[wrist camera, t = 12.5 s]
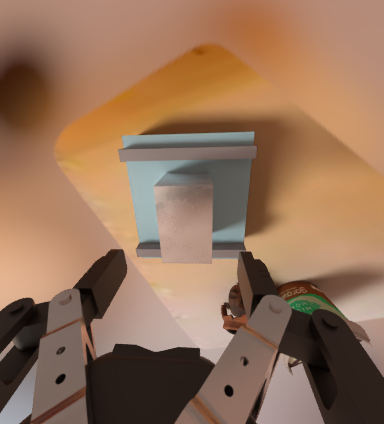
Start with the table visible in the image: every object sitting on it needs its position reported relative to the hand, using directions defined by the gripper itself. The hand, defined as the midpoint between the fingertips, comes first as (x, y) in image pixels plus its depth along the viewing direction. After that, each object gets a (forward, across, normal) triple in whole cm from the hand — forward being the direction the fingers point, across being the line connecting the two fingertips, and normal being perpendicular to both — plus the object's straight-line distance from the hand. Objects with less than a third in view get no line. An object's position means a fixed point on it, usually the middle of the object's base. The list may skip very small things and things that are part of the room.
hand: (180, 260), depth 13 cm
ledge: (+16, 0, 0) cm, 16 cm away
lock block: (+11, 0, 0) cm, 11 cm away
